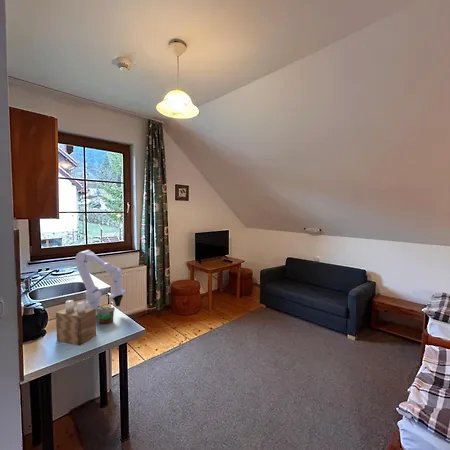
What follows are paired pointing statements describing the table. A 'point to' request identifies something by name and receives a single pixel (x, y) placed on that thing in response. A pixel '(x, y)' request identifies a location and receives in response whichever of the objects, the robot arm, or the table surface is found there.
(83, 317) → the wooden bottle crate
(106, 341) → the table surface
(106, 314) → the food container
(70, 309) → the tumblers
